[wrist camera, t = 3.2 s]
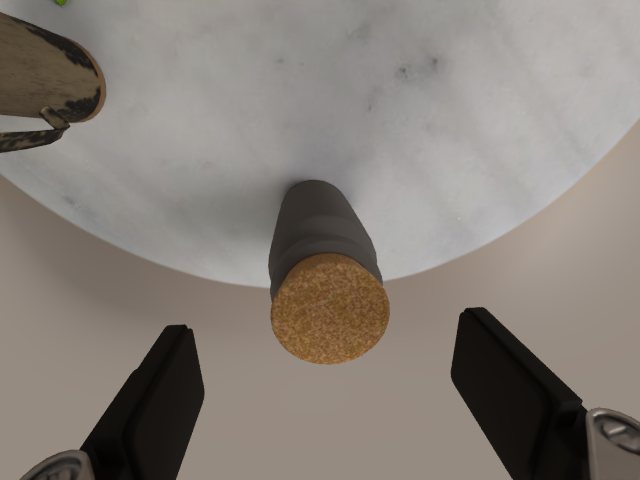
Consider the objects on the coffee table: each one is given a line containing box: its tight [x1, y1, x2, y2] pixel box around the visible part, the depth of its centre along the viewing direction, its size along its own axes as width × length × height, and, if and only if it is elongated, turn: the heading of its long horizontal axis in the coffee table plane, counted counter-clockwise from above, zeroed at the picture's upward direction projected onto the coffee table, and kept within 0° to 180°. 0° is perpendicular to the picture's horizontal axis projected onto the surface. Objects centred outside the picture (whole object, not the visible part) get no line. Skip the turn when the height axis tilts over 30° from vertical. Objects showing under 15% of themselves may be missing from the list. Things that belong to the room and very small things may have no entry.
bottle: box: [268, 180, 390, 364], centre depth 19 cm, size 6×6×15 cm
